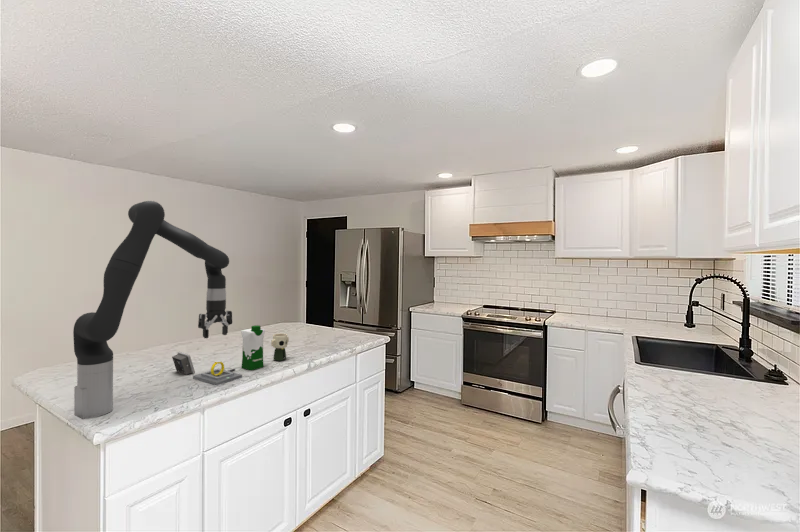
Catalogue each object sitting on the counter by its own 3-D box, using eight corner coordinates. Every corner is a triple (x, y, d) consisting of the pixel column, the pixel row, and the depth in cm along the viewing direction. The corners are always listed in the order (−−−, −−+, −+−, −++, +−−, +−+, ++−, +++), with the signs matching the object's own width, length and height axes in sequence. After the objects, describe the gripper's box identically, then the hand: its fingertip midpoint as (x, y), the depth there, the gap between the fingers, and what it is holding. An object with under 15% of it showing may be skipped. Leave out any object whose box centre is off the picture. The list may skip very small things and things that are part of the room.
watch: (219, 373, 162) (221, 360, 163) (224, 374, 161) (226, 360, 162) (208, 375, 157) (210, 361, 157) (213, 376, 156) (215, 362, 156)
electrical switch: (195, 373, 165) (193, 353, 164) (183, 377, 160) (181, 357, 159) (184, 369, 170) (182, 350, 169) (172, 373, 165) (170, 353, 164)
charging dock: (216, 385, 150) (216, 380, 150) (193, 378, 158) (193, 373, 158) (251, 374, 165) (251, 370, 165) (228, 368, 173) (228, 364, 173)
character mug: (276, 363, 182) (276, 337, 182) (266, 361, 186) (266, 335, 185) (292, 358, 192) (293, 333, 191) (283, 356, 195) (283, 332, 195)
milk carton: (250, 371, 169) (251, 328, 169) (238, 368, 174) (238, 325, 173) (266, 366, 177) (267, 325, 176) (254, 363, 181) (254, 323, 181)
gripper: (205, 300, 150) (205, 340, 150) (236, 298, 162) (235, 334, 163) (194, 299, 154) (194, 338, 154) (225, 296, 166) (224, 332, 166)
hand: (215, 336), depth 158 cm, fingers open, 8 cm apart
